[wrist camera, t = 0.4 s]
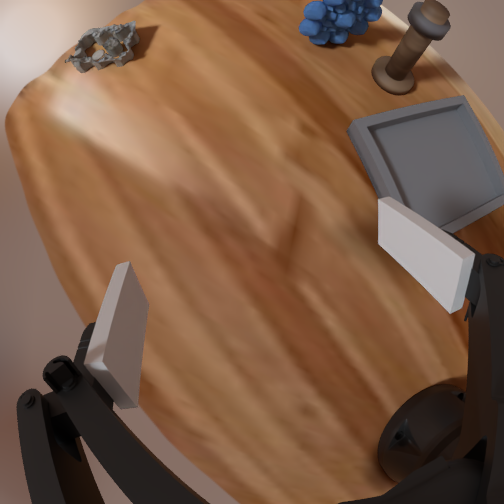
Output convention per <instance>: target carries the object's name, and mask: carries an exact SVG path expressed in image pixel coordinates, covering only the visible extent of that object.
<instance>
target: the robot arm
mask: <svg viewBox="0 0 504 504" xmlns="http://www.w3.org/2000/svg"><path fill="white" fill-rule="evenodd" d="M378 244H379V245H380V246H381V247H382V248H383V249H384V250H385V251H386V252H388V253H389V254H390V255H391V256H392V257H393V258H394V259H395V260H396V261H397V262H398V263H399V264H400V265H402V266H403V267H404V268H405V269H406V270H407V271H408V272H409V273H410V274H411V275H412V276H413V277H414V278H415V279H416V280H417V281H418V282H419V283H420V284H421V285H422V286H423V287H424V288H425V289H426V290H427V291H428V292H429V293H430V294H431V295H432V296H433V297H434V298H435V299H436V300H437V301H438V302H439V303H440V304H441V305H442V306H443V307H444V308H445V309H446V310H447V311H448V312H449V313H450V314H451V313H453V312H455V311H457V310H459V309H461V308H462V306H463V302H464V299H465V297H466V298H467V299H468V300H469V301H470V302H469V306H468V309H467V312H466V315H465V319H464V321H466V320H467V318H468V322H469V349H468V373H467V387H466V392H465V391H463V390H461V389H459V388H458V387H456V386H453V385H447V384H443V385H436V386H433V387H430V388H427V389H425V390H423V391H421V392H419V393H418V394H416V395H415V396H413V397H412V398H411V399H409V400H408V401H407V402H406V403H405V404H403V405H402V406H401V407H400V408H399V409H398V411H397V412H396V413H395V414H394V415H393V417H392V418H391V419H390V421H389V422H388V424H387V425H386V427H385V429H384V431H383V433H382V435H381V438H380V441H379V445H378V459H379V462H380V465H381V466H382V468H383V469H384V471H385V472H386V474H387V475H388V476H389V477H390V478H391V479H392V480H394V481H396V482H398V484H397V485H396V486H395V487H393V488H392V489H391V490H389V491H388V492H387V493H385V494H384V495H381V496H378V497H372V498H367V499H361V500H354V501H347V502H341V503H338V504H504V259H503V258H502V257H500V256H498V255H495V254H484V255H482V254H480V253H479V252H478V251H476V250H475V249H474V248H472V247H471V246H470V245H468V244H467V243H464V241H463V240H461V239H459V238H458V237H457V236H455V235H454V234H452V233H451V232H448V231H446V230H443V229H440V228H438V227H437V226H435V225H434V224H432V223H431V222H429V221H428V220H426V219H425V218H423V217H422V216H420V215H419V214H417V213H415V212H414V211H412V210H411V209H409V208H408V207H406V206H404V205H403V204H401V203H400V202H398V201H396V200H395V199H393V198H391V197H390V196H389V197H385V198H381V199H378ZM148 309H149V303H148V301H147V299H146V296H145V294H144V292H143V290H142V288H141V285H140V283H139V281H138V279H137V276H136V274H135V272H134V270H133V267H132V265H131V262H130V261H129V262H125V263H121V264H118V265H116V267H115V270H114V273H113V275H112V278H111V281H110V283H109V286H108V289H107V292H106V295H105V297H104V300H103V303H102V306H101V309H100V312H99V315H98V318H97V321H96V322H94V323H90V324H89V325H88V326H87V328H86V329H85V330H84V332H83V334H82V337H81V340H80V343H79V346H78V350H77V353H76V356H75V359H74V362H72V361H71V359H70V358H69V357H67V356H59V357H56V358H54V359H52V360H51V361H50V362H49V363H48V364H47V365H46V367H45V368H44V371H43V379H44V381H45V382H46V383H47V384H48V385H49V386H50V387H51V389H52V390H53V392H50V393H48V394H45V395H42V394H40V392H39V391H38V390H36V389H29V390H27V391H25V392H24V393H23V394H22V395H21V396H20V397H19V399H18V402H17V420H18V430H19V438H20V446H21V452H22V459H23V464H24V470H25V475H26V480H27V484H28V489H29V493H30V497H31V501H32V504H105V503H104V501H103V498H102V496H101V494H100V491H99V489H98V487H97V484H96V482H95V480H94V477H93V474H92V471H91V469H90V466H89V463H88V461H87V458H86V455H85V452H84V449H83V446H82V443H81V440H80V436H82V438H83V439H84V441H85V442H86V444H87V445H88V447H89V448H90V450H91V451H92V452H93V454H94V455H95V457H96V458H97V459H98V461H99V462H100V464H101V465H102V466H103V468H104V469H105V470H106V471H107V473H108V474H109V475H110V477H111V478H112V479H113V480H114V482H115V483H116V484H117V485H118V486H119V488H120V489H121V490H122V491H123V493H124V494H125V495H126V496H127V497H128V498H129V499H130V501H131V502H132V503H133V504H210V503H208V502H207V501H206V500H205V499H203V498H202V497H201V496H200V495H198V494H197V493H196V492H195V491H193V490H192V489H191V488H190V487H189V486H188V485H187V484H185V483H184V482H183V481H182V480H181V479H180V478H178V477H177V476H176V475H175V474H174V473H173V472H172V471H171V470H170V469H168V468H167V467H166V466H165V465H164V464H163V463H162V462H161V461H160V460H159V459H158V458H157V457H156V456H155V455H154V454H153V453H152V452H151V451H150V450H149V449H148V448H147V447H146V446H145V445H144V444H143V443H142V442H141V441H140V440H139V439H138V438H137V436H135V434H134V433H133V432H132V431H131V430H130V429H129V428H128V427H127V426H126V424H125V423H124V422H123V421H122V420H121V419H120V418H119V417H118V415H117V414H116V413H115V412H114V411H113V402H115V403H116V405H117V406H118V407H119V408H120V409H128V408H136V407H138V398H139V385H140V375H141V365H142V355H143V347H144V338H145V331H146V323H147V316H148Z"/></svg>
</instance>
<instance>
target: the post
mask: <svg viewBox="0 0 504 504" xmlns="http://www.w3.org/2000/svg"><path fill="white" fill-rule="evenodd" d="M449 16H450V13H449V11H448V10H447V8H445V6H443V5H442V4H441V3H439V2H438V1H436V0H425V1H424V2H416V3H415V4H414V5H413V7H412V9H411V11H410V13H409V14H408V20H409V23H410V24H411V25H410V27H409V28H408V30H407V32H406V34H405V35H404V37H403V39H402V40H401V42H400V44H399V45H398V47H397V49H396V50H395V52H394V54H393V55H392V57H390V56H383V57H380V58H378V59H377V60H376V62H375V64H374V65H373V67H372V76H373V79H374V81H375V82H376V83H377V85H378V86H379V87H380V88H382V89H383V90H384V91H386V92H388V93H390V94H393V95H404V94H406V93H407V92H408V91H409V90H410V89H411V87H412V86H413V85H414V76H413V74H412V72H411V69H412V67H413V66H414V65H415V63H416V62H417V61H418V59H419V58H420V57H421V55H422V54H423V52H424V51H425V50H426V48H427V47H428V46H429V44H430V43H431V41H432V40H437V41H439V40H442V39H443V37H444V36H445V35H446V33H447V32H448V31H449V29H450V23H449V21H448V18H449Z"/></svg>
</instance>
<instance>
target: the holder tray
mask: <svg viewBox="0 0 504 504" xmlns="http://www.w3.org/2000/svg"><path fill="white" fill-rule="evenodd" d="M347 133H348V135H349V137H350V139H351V141H352V143H353V145H354V147H355V149H356V151H357V153H358V155H359V157H360V159H361V161H362V163H363V165H364V167H365V169H366V171H367V174H368V176H369V178H370V180H371V182H372V184H373V187H374V189H375V191H376V193H377V196H378V198H379V199H381V198H385V197H389V196H390V197H391V198H393V199H395V200H396V201H398V202H400V203H401V204H403V205H404V206H406V207H408V208H409V209H411V210H412V211H414V212H415V213H417V214H419V215H420V216H422V217H423V218H425V219H426V220H428V221H429V222H431V223H432V224H434V225H435V226H437V227H438V228H440V229H443V230H446V231H448V232H451V233H454V232H456V231H458V230H460V229H462V228H463V227H465V226H467V225H469V224H471V223H473V222H474V221H476V220H478V219H480V218H481V217H483V216H485V215H487V214H488V213H490V212H492V211H494V210H495V209H497V208H499V207H501V206H502V205H504V175H503V172H502V170H501V167H500V165H499V163H498V160H497V158H496V156H495V154H494V151H493V149H492V147H491V145H490V143H489V141H488V139H487V137H486V135H485V133H484V131H483V129H482V127H481V125H480V123H479V121H478V119H477V117H476V115H475V114H474V112H473V110H472V108H471V107H470V105H469V103H468V101H467V100H466V98H465V96H464V95H463V96H457V97H451V98H446V99H441V100H436V101H431V102H426V103H421V104H416V105H412V106H408V107H403V108H399V109H395V110H391V111H386V112H382V113H379V114H375V115H371V116H367V117H363V118H360V119H356V120H353V121H352V123H351V125H350V126H349V128H348V129H347Z"/></svg>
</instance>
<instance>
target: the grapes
mask: <svg viewBox="0 0 504 504" xmlns="http://www.w3.org/2000/svg"><path fill="white" fill-rule="evenodd" d="M382 2H383V0H323V2H321V1H313V2H310V3H309V4H307V5H306V7H305V9H304V16H305V17H306V19H304V20H303V21H302V22H301V23H300V26H299V31H300V33H301V34H303V35H305V36H309V39H310V41H311V42H312V43H313V44H317V45H322V44H325V43H327V41H328V40H329V41H330V42H331V43H335V44H342V43H344V42H345V41H346V40H347V38H348V36H349V32H350V33H351V34H354V35H362V34H364V33H365V32H366V31H367V29H368V22H373V21H377V20H378V19H379V18H380V17H381V14H382V9H381V7H380V5H381V4H382ZM367 21H368V22H367ZM348 31H349V32H348Z"/></svg>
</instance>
